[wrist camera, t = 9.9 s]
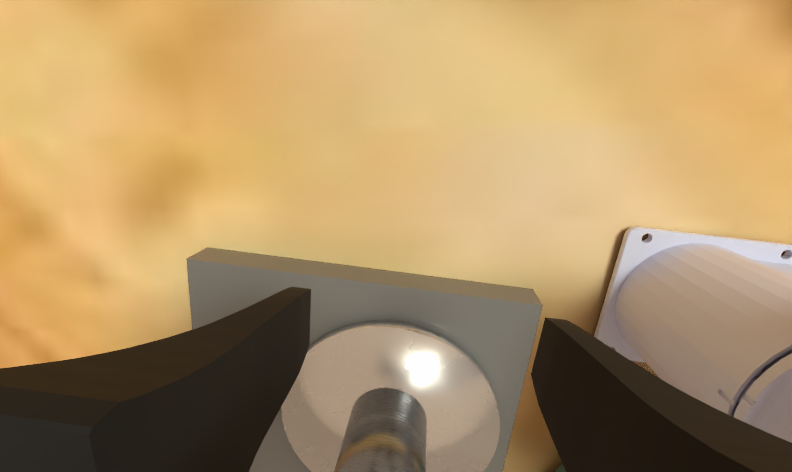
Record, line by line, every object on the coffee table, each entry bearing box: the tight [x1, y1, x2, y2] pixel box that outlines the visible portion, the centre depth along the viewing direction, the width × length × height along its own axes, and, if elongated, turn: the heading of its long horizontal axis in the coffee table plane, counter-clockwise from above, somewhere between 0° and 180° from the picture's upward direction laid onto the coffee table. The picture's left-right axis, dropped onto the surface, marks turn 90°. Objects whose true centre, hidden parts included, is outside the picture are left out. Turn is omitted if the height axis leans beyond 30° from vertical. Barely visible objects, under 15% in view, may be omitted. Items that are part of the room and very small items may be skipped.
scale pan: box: [281, 320, 500, 472], centre depth 22 cm, size 13×13×1 cm
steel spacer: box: [334, 388, 427, 472], centre depth 19 cm, size 4×4×6 cm
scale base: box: [187, 248, 543, 472], centre depth 23 cm, size 20×17×2 cm
